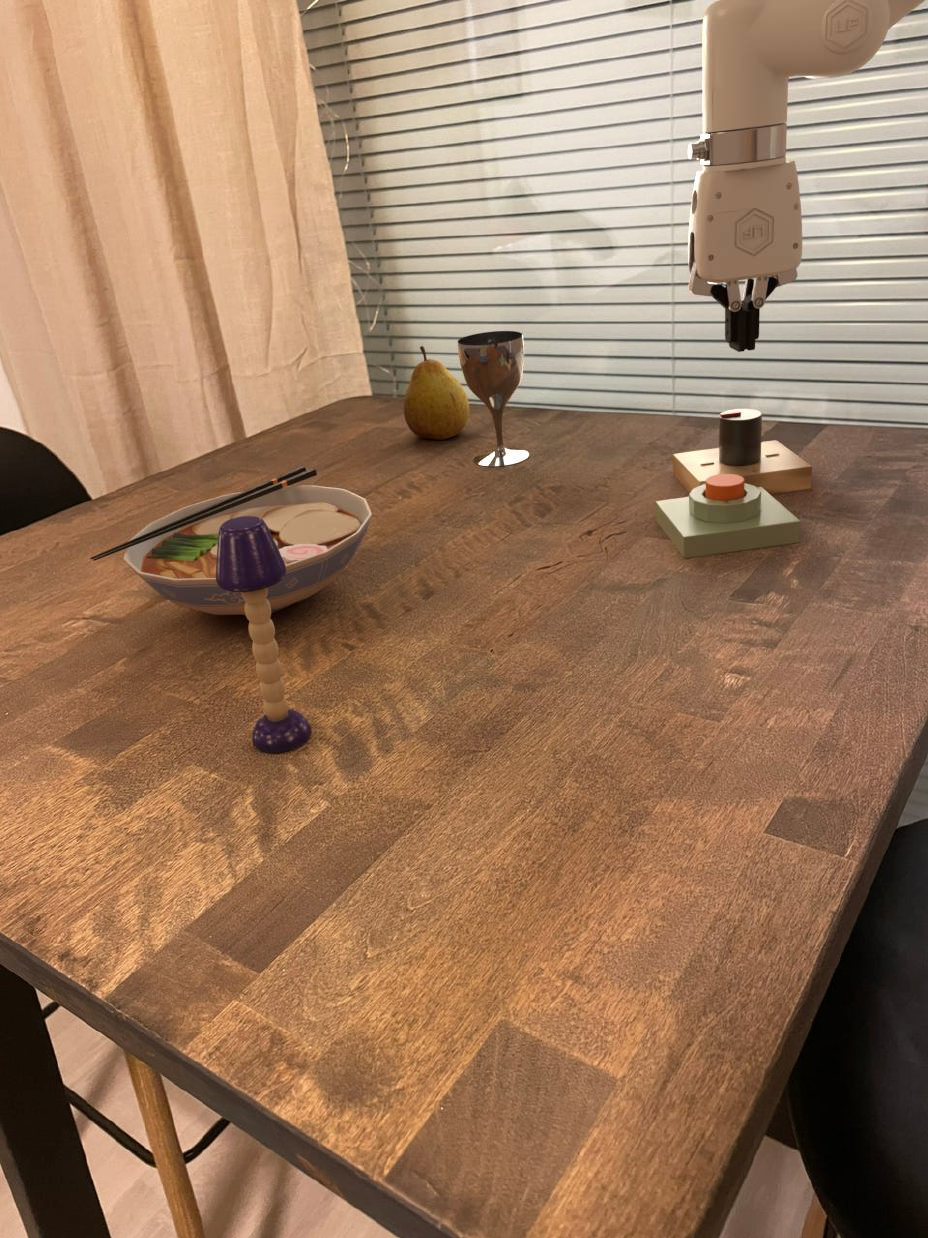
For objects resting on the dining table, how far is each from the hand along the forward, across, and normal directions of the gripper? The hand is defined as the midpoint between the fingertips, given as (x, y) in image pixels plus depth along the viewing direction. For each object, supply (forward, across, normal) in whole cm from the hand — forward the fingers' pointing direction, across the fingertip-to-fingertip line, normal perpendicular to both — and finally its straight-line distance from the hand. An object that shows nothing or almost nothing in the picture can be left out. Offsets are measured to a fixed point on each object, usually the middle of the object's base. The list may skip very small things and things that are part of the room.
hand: (741, 347), depth 99 cm
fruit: (+15, -30, +36) cm, 49 cm away
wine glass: (+15, -23, +22) cm, 35 cm away
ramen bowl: (+15, -51, -12) cm, 54 cm away
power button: (+11, -6, -12) cm, 17 cm away
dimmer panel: (+15, 0, +1) cm, 15 cm away
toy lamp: (+15, -47, -37) cm, 62 cm away
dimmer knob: (+12, 0, +1) cm, 12 cm away
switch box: (+15, -6, -12) cm, 20 cm away
